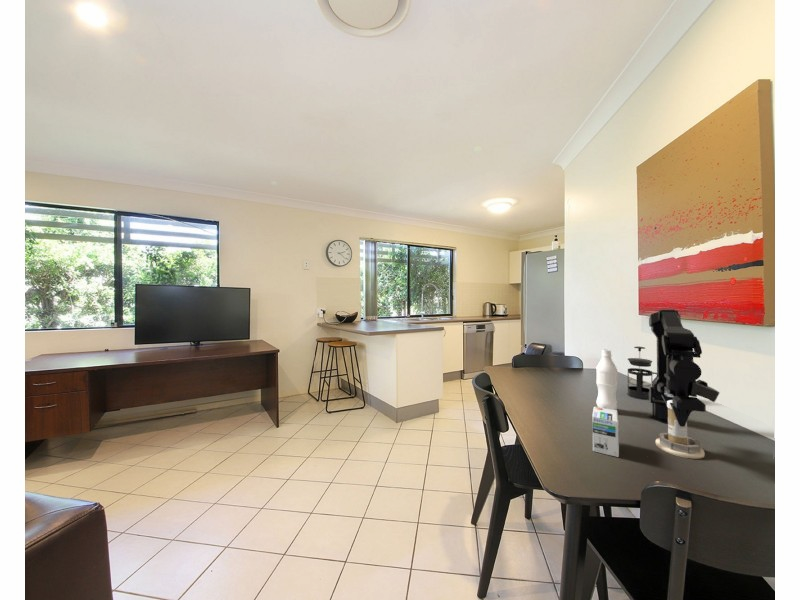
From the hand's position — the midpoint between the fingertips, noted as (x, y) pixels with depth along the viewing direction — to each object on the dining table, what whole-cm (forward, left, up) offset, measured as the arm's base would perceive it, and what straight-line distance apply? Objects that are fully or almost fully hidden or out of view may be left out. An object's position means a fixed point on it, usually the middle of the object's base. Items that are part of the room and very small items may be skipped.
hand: (679, 423), depth 93 cm
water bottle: (-31, +2, -8) cm, 32 cm away
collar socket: (0, 0, -8) cm, 8 cm away
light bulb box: (-4, -21, -8) cm, 23 cm away
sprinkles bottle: (0, 0, -7) cm, 7 cm away
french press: (-44, +30, -8) cm, 54 cm away
